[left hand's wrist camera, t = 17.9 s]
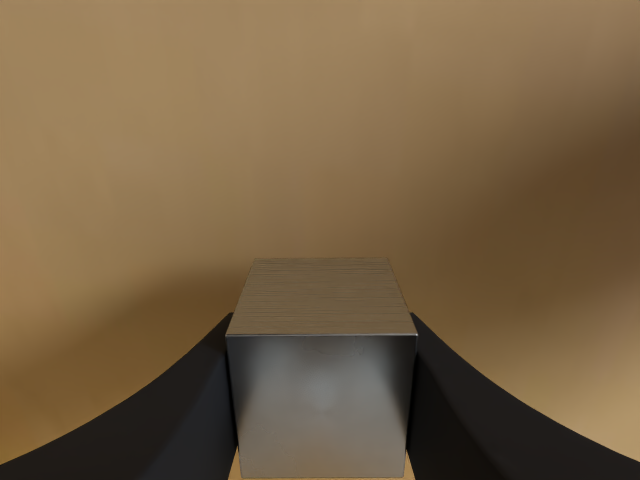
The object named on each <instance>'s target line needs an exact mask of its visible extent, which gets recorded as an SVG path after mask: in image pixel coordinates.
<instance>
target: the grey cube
mask: <svg viewBox="0 0 640 480" xmlns="http://www.w3.org/2000/svg"><path fill="white" fill-rule="evenodd" d="M225 339H226V348H227V356H228V365H229V374H230V383H231V391H232V400H233V409H234V418H235V427H236V435H237V444H238V453H239V462H240V470H241V477H242V478H402V477H403V476H404V468H405V458H406V449H407V439H408V429H409V420H410V410H411V400H412V390H413V381H414V371H415V361H416V352H417V342H418V333H417V330H416V328H415V325H414V323H413V320H412V318H411V315H410V313H409V310H408V308H407V305H406V303H405V300H404V298H403V295H402V292H401V290H400V287H399V285H398V282H397V280H396V277H395V275H394V272H393V270H392V267H391V265H390V262H389V260H388V258H256V259H254V262H253V264H252V267H251V269H250V272H249V275H248V277H247V280H246V282H245V285H244V288H243V290H242V293H241V295H240V298H239V301H238V303H237V306H236V308H235V311H234V314H233V316H232V319H231V322H230V324H229V327H228V329H227V332H226V335H225Z"/></svg>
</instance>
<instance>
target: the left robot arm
mask: <svg viewBox="0 0 640 480" xmlns="http://www.w3.org/2000/svg"><path fill="white" fill-rule="evenodd" d="M233 314H234V313H229V314H228V315H227V316H226V317H225V318H224V319H223V320H221V321H220V322H219V323H218V324H217V325H216V326H215V327H214V328H213V329H212V330H211V331H210V332H209V333H208V334H207V335H206V336H205V337H204V338H203V339H202V340H201V341H200V342H199V343H198V344H197V345H195V346H194V347H193V348H192V349H191V350H190V351H189V352H188V353H187V354H186V355H184V356H183V357H182V358H181V359H180V360H178V361H177V362H176V363H175V364H174V365H172V366H171V367H170V368H169V369H168V370H166V371H165V372H164V373H163V374H161V375H160V376H159V377H158V378H156V379H155V380H154V381H152V382H151V383H149V384H148V385H147V386H145V387H144V388H142V389H141V390H139V391H138V392H137V393H135V394H134V395H132V396H131V397H129V398H128V399H126V400H125V401H123V402H121V403H120V404H118V405H116V406H115V407H113V408H111V409H110V410H108V411H106V412H105V413H103V414H101V415H100V416H98V417H96V418H95V419H93V420H91V421H90V422H88V423H86V424H84V425H82V426H80V427H79V428H77V429H75V430H73V431H71V432H69V433H67V434H65V435H63V436H61V437H59V438H57V439H55V440H53V441H51V442H49V443H47V444H45V445H43V446H41V447H39V448H37V449H35V450H33V451H31V452H29V453H27V454H24V455H22V456H20V457H17V458H15V459H13V460H10V461H8V462H6V463H4V464H1V465H0V480H228V477H229V473H230V470H231V466H232V463H233V459H234V456H235V452H236V449H237V445H238V444H237V435H236V427H235V418H234V409H233V400H232V391H231V383H230V374H229V365H228V356H227V348H226V339H225V335H226V332H227V329H228V327H229V324H230V322H231V319H232V316H233ZM410 315H411V318H412V320H413V323H414V325H415V328H416V330H417V333H418V342H417V352H416V361H415V371H414V381H413V390H412V400H411V410H410V420H409V429H408V439H407V452H408V456H409V459H410V463H411V466H412V469H413V473H414V476H415V480H640V462H638V461H636V460H634V459H631V458H629V457H626V456H624V455H622V454H619V453H617V452H615V451H613V450H611V449H609V448H607V447H605V446H602V445H600V444H598V443H596V442H594V441H592V440H590V439H588V438H586V437H584V436H582V435H580V434H578V433H576V432H574V431H572V430H570V429H569V428H567V427H565V426H563V425H561V424H559V423H557V422H556V421H554V420H552V419H550V418H549V417H547V416H545V415H543V414H542V413H540V412H538V411H536V410H535V409H533V408H531V407H530V406H528V405H526V404H525V403H523V402H522V401H520V400H518V399H517V398H515V397H514V396H512V395H511V394H510V393H508V392H507V391H505V390H504V389H502V388H501V387H499V386H498V385H496V384H495V383H493V382H492V381H491V380H489V379H488V378H487V377H485V376H484V375H483V374H481V373H480V372H479V371H478V370H476V369H475V368H474V367H473V366H471V365H470V364H469V363H467V362H466V361H465V360H464V359H463V358H461V357H460V356H459V355H458V354H457V353H456V352H454V351H453V350H452V349H451V348H450V347H449V346H448V345H447V344H446V343H444V342H443V341H442V340H441V339H440V338H439V337H438V336H437V335H436V334H435V333H434V332H433V331H432V330H431V329H430V328H429V327H427V326H426V325H425V324H424V323H423V322H422V321H421V320H420V319H419V318H418V317H417V316H416V315H415V314H414V313H410Z"/></svg>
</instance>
